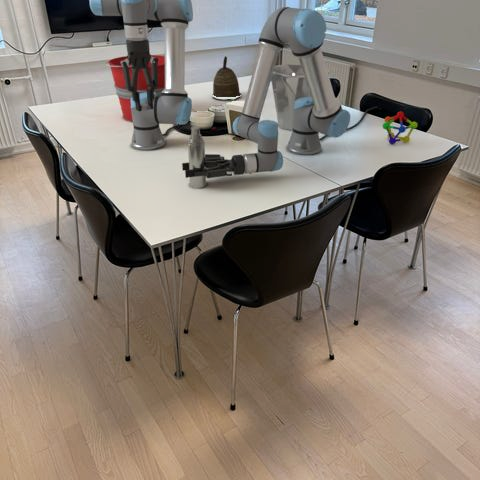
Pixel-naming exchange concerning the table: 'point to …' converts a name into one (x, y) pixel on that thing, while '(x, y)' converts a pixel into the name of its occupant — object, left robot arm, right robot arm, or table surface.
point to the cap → (145, 106)
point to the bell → (225, 82)
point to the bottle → (196, 156)
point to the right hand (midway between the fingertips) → (184, 170)
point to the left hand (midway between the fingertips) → (144, 109)
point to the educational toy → (398, 128)
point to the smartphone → (212, 156)
